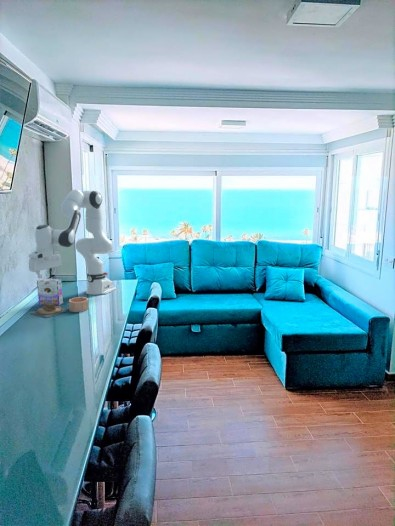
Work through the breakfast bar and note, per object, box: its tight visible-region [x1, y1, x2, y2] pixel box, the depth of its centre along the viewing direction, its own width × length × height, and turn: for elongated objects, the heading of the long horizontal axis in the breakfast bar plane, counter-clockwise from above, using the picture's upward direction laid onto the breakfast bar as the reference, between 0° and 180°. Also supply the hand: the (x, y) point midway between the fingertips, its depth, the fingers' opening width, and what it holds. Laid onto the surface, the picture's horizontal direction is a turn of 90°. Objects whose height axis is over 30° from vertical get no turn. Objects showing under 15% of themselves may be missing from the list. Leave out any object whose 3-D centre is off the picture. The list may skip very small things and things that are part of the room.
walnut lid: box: [36, 302, 63, 315], centre depth 220 cm, size 14×14×5 cm
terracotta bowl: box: [68, 296, 89, 313], centre depth 226 cm, size 11×11×6 cm
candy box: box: [36, 277, 64, 306], centre depth 234 cm, size 14×6×16 cm, turn 84°
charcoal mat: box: [30, 307, 69, 319], centre depth 221 cm, size 15×15×1 cm
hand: (46, 276), depth 216 cm, fingers open, 8 cm apart
